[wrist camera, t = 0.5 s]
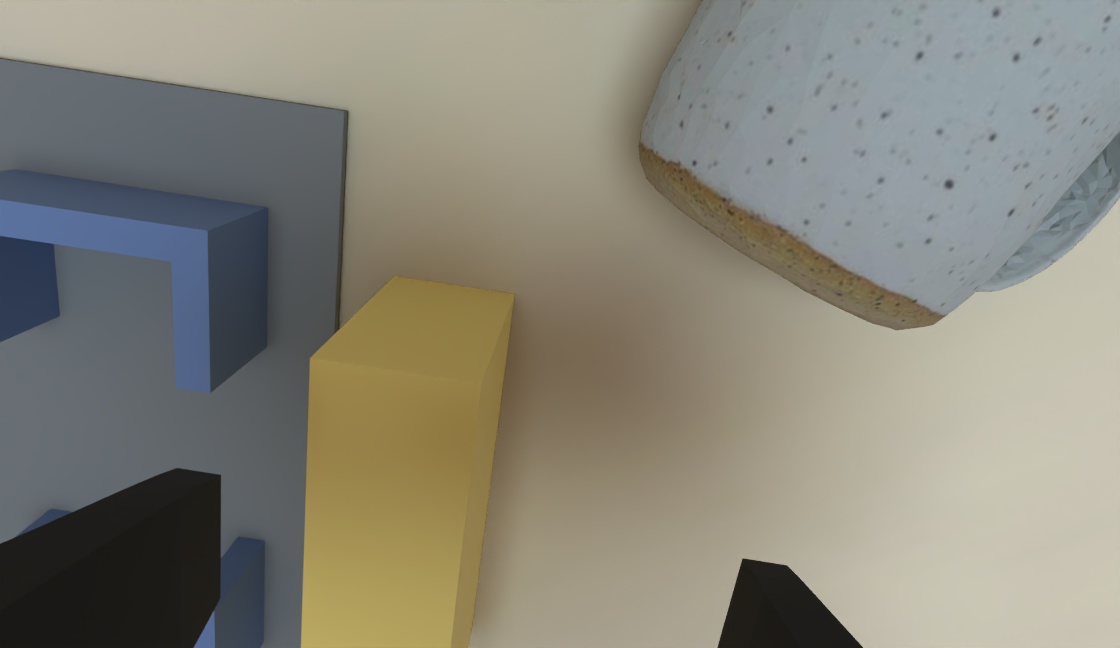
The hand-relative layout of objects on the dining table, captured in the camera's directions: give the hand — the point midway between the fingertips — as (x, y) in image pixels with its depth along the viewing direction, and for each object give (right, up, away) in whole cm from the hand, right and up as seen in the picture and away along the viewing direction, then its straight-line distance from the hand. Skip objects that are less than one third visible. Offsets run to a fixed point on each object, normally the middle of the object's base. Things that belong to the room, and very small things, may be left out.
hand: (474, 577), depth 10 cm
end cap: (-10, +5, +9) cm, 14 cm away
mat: (-10, +1, +11) cm, 15 cm away
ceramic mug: (+9, +9, +7) cm, 15 cm away
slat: (-2, -1, +11) cm, 11 cm away
